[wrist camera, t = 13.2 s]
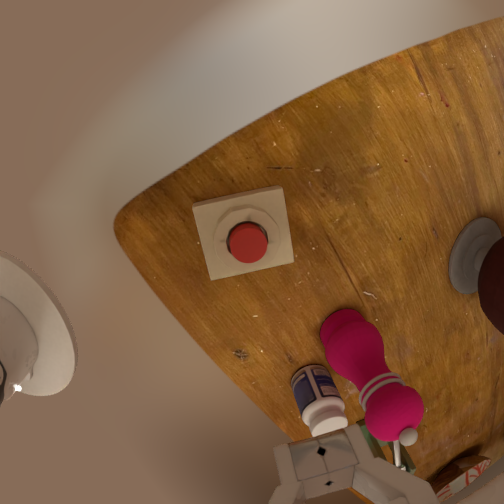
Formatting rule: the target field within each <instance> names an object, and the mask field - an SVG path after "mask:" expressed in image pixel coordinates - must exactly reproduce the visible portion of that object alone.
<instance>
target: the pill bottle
mask: <svg viewBox="0 0 504 504" xmlns="http://www.w3.org/2000/svg"><path fill="white" fill-rule="evenodd" d="M291 386H292V390H293V393H294V396H295V399H296V402H297V405H298V408H299V411H300V414H301V417H302V419H303V421H304V423H305V424H306V425H308V426H309V429H310V431H311V434H312V436H313V437H315V436H318V435H321V434H325V433H328V432H331V431H334V430H337V429H340V428H344V427H347V424H348V421H347V418H346V416H345V414H344V413H343V412H344V408H345V406H344V402H343V400H342V398H341V396H340V394H339V392H338V390H337V388H336V386H335V384H334V382H333V380H332V378H331V376H330V374H329V372H328V370H327V369H326V368H325V367H323V366H320V365H310V366H306V367H304V368H302V369H300V370H299V371H298V372H297V373H296V374H295V375H294V376H293V378H292V381H291Z"/></svg>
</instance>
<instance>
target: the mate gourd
mask: <svg viewBox="0 0 504 504" xmlns="http://www.w3.org/2000/svg"><path fill="white" fill-rule="evenodd" d="M449 278H450V281H451V284H452V285H453V287H454V288H455V289H456V290H457V291H459V292H460V293H463V294H471V293H474V292H476V291H478V293H479V299H480V304H481V308H482V310H483V312H484V313H485V315H486V316H487V318H488V319H489V320H490V321H491V322H492V324H493V325H494V326H495V327H496V328H497V329H498V330H499V331H500V332H501V333H502V334H503V335H504V237H502V236H501V232H500V229H499V227H498V225H497V224H496V223H495V222H494V221H493V220H491V219H489V218H486V217H480V218H477V219H474V220H473V221H471V222H470V223H469V224H468V225H466V226H465V228H464V229H463V230H462V231H461V233H460V234H459V236H458V238H457V239H456V241H455V244H454V246H453V249H452V252H451V255H450V260H449Z"/></svg>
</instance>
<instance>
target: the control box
mask: <svg viewBox="0 0 504 504" xmlns="http://www.w3.org/2000/svg"><path fill="white" fill-rule="evenodd" d="M192 209H193V213H194V217H195V221H196V225H197V229H198V233H199V237H200V241H201V245H202V249H203V253H204V256H205V260H206V264H207V268H208V272H209V275H210V279H211V280H216V279H221V278H225V277H230V276H234V275H239V274H243V273H248V272H252V271H257V270H261V269H266V268H270V267H275V266H279V265H283V264H288V263H292V262H294V255H293V248H292V242H291V235H290V229H289V223H288V216H287V210H286V204H285V198H284V192H283V188H282V187H280V186H279V185H275V186H270V187H265V188H260V189H255V190H250V191H245V192H241V193H236V194H231V195H227V196H222V197H218V198H213V199H209V200H204V201H200V202H196V203H194V204H193V207H192ZM244 223H251V224H255V225H257V226H258V227H259V228H260V229H261V230H262V231H263V233H264V235H265V237H266V239H267V251H266V253H265V255H264V256H263V257H262V258H261V259H260V260H258V261H256V262H254V263H243V262H240V261H238V260H237V259H236V258H235V257H234V256H233V255H232V253H231V249H230V243H229V238H230V234H231V232H232V231H233V229H234V228H236V227H237V226H238V225H241V224H244Z"/></svg>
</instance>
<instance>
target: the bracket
mask: <svg viewBox="0 0 504 504" xmlns="http://www.w3.org/2000/svg"><path fill="white" fill-rule="evenodd" d="M356 424H358V425H359V427H360V429H361V431H362V433H363V435H364V437H365V439H366V441H367V443H368V445H369V448H370V450H371V452H372V454H373V456H374V458H376V457H380V458H381V459H383V460H385V461H387V459H386V457H385V455H384V453H383V451H382V449H381V447H382V446H385V445H387V444H388V445H389V447H390V449H391V451H392V442H390V441H381V440H379V439H377V438H375V437H374V436H373V435H372V434H371V433H370V432H369V430H368V429H367V427H366V423H365V419H364V420H361V421H358V422H356ZM399 445H400V458H401V463H402V464H403V465H405V466H406V472H408V473H410V474H412V475H413V474H414V472H415V470H416V467H415V465H414V463H413V461H412V460H411V458H410V456H409V454H408V452H407V451H406V449H405V447H404V445H402V444H401V443H400V441H399ZM387 462H388V461H387Z"/></svg>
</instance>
